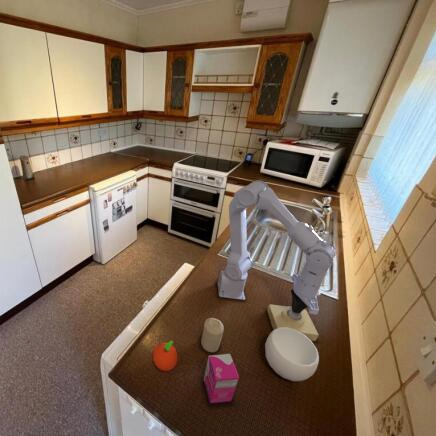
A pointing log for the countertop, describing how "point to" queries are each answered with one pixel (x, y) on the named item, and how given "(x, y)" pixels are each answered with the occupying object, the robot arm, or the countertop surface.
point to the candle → (212, 334)
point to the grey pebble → (294, 314)
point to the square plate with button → (291, 321)
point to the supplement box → (220, 378)
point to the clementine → (165, 356)
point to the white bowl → (291, 354)
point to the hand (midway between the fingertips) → (295, 311)
